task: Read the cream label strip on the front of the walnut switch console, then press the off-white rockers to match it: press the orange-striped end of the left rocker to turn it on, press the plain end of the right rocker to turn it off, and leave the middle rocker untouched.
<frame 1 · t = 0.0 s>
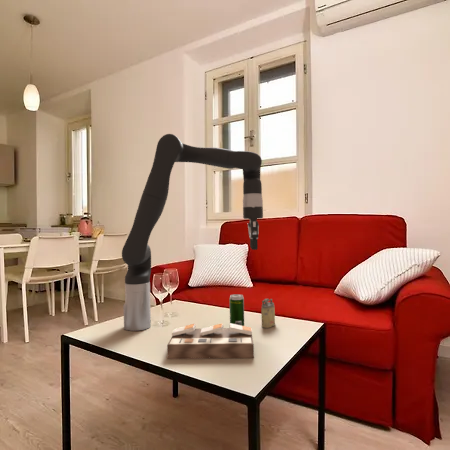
hand: (253, 248, 117), 29 cm above the table, tool pointing down, fingers open, 8 cm apart
rocker right: (240, 328, 97), point 6 cm above the table, hinge at 13.0°
lighter: (268, 326, 117), on the table
rocker left: (183, 329, 98), point 6 cm above the table, hinge at -13.0°
switch console: (212, 348, 96), on the table
beer can: (237, 328, 115), on the table
rocker middle: (212, 329, 97), point 6 cm above the table, hinge at -13.0°
power adapter: (241, 318, 129), on the table
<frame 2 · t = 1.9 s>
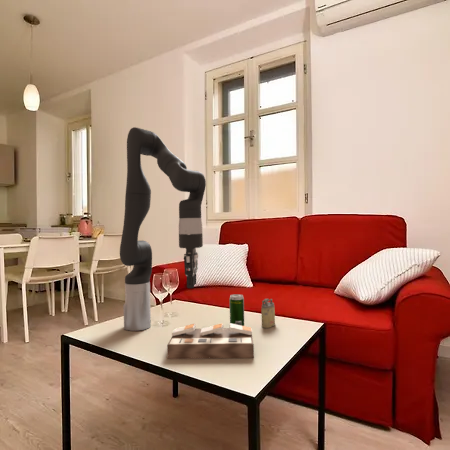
hand: (191, 286, 98), 19 cm above the table, tool pointing down, fingers open, 4 cm apart
nothing on the table moved.
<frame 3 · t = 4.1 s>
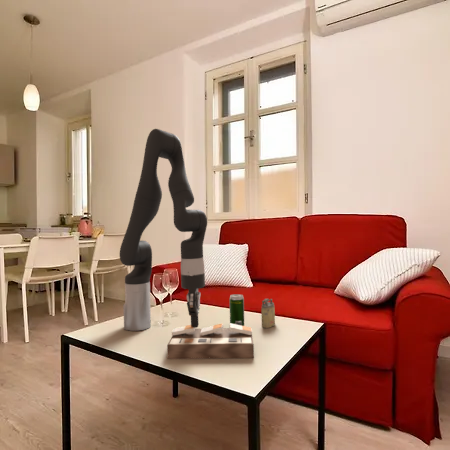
hand: (194, 326, 97), 6 cm above the table, tool pointing down, fingers closed
rocker left: (183, 329, 98), point 6 cm above the table, hinge at -9.9°, touching gripper
everything else where it was.
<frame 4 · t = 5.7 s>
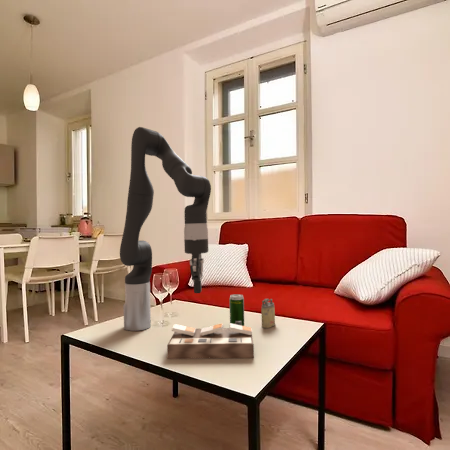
hand: (197, 292, 97), 17 cm above the table, tool pointing down, fingers closed
rocker left: (183, 329, 98), point 6 cm above the table, hinge at 13.6°
everything else where it was.
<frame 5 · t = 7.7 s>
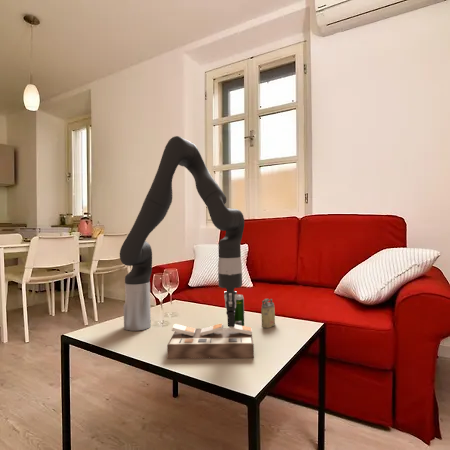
hand: (231, 326, 97), 6 cm above the table, tool pointing down, fingers closed
rocker right: (240, 328, 97), point 6 cm above the table, hinge at 12.3°, touching gripper
rocker left: (184, 329, 98), point 6 cm above the table, hinge at 15.0°
everything else where it was.
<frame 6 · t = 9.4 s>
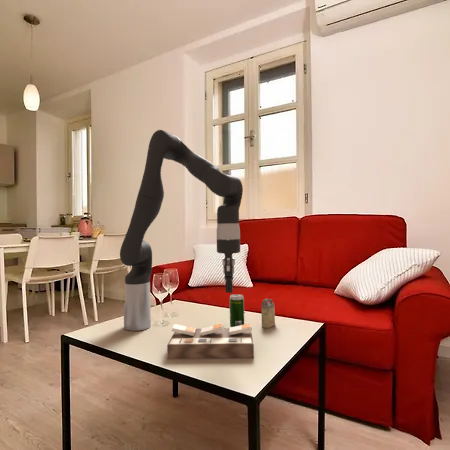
hand: (229, 292, 98), 17 cm above the table, tool pointing down, fingers closed
rocker right: (240, 328, 97), point 6 cm above the table, hinge at -10.9°
rocker left: (183, 329, 98), point 6 cm above the table, hinge at 13.1°
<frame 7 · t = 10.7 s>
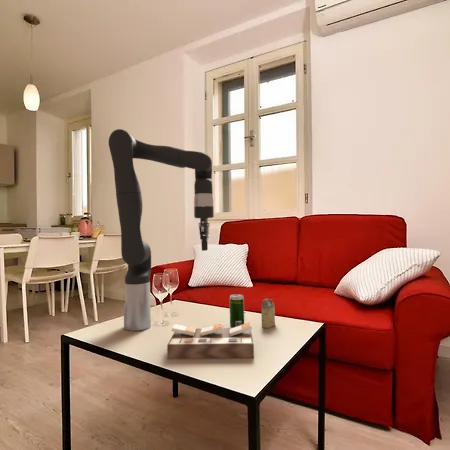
hand: (204, 250, 119), 29 cm above the table, tool pointing down, fingers closed
rocker right: (240, 328, 97), point 6 cm above the table, hinge at -18.0°, touching switch console
rocker left: (183, 329, 98), point 6 cm above the table, hinge at 12.5°
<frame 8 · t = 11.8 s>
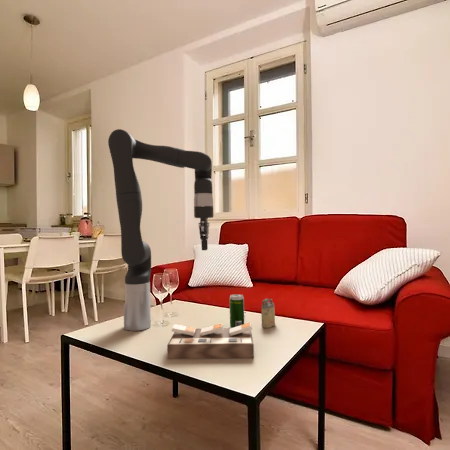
hand: (204, 250, 119), 29 cm above the table, tool pointing down, fingers closed
rocker right: (240, 328, 97), point 6 cm above the table, hinge at -16.4°
at the end: rocker left at +12° (first picture: -13°); rocker right at -16° (first picture: +13°); rocker middle at -13° (first picture: -13°) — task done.
